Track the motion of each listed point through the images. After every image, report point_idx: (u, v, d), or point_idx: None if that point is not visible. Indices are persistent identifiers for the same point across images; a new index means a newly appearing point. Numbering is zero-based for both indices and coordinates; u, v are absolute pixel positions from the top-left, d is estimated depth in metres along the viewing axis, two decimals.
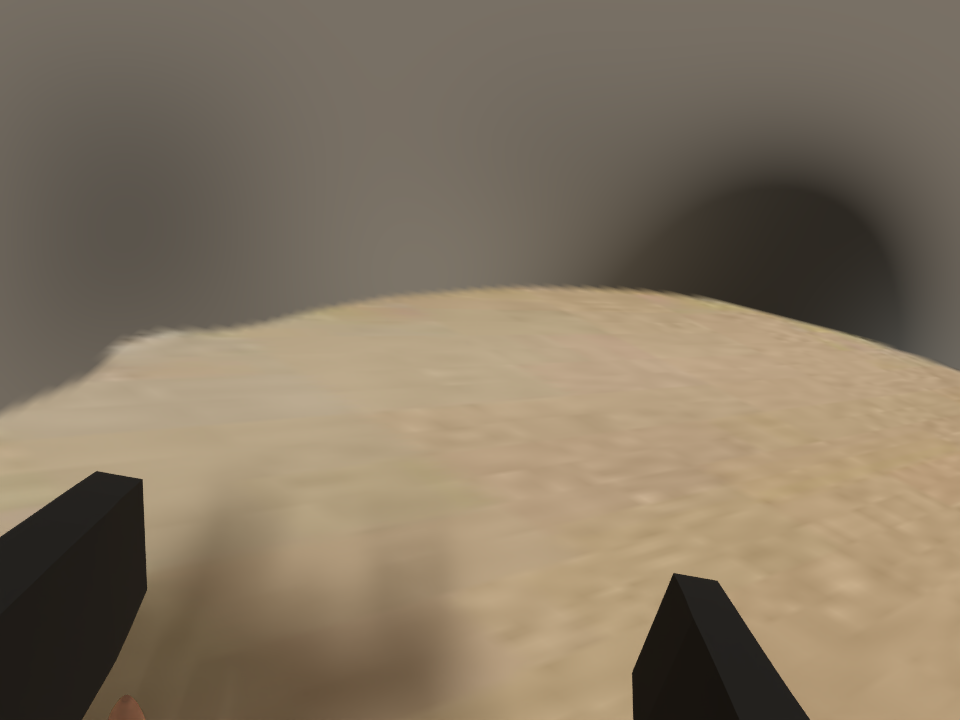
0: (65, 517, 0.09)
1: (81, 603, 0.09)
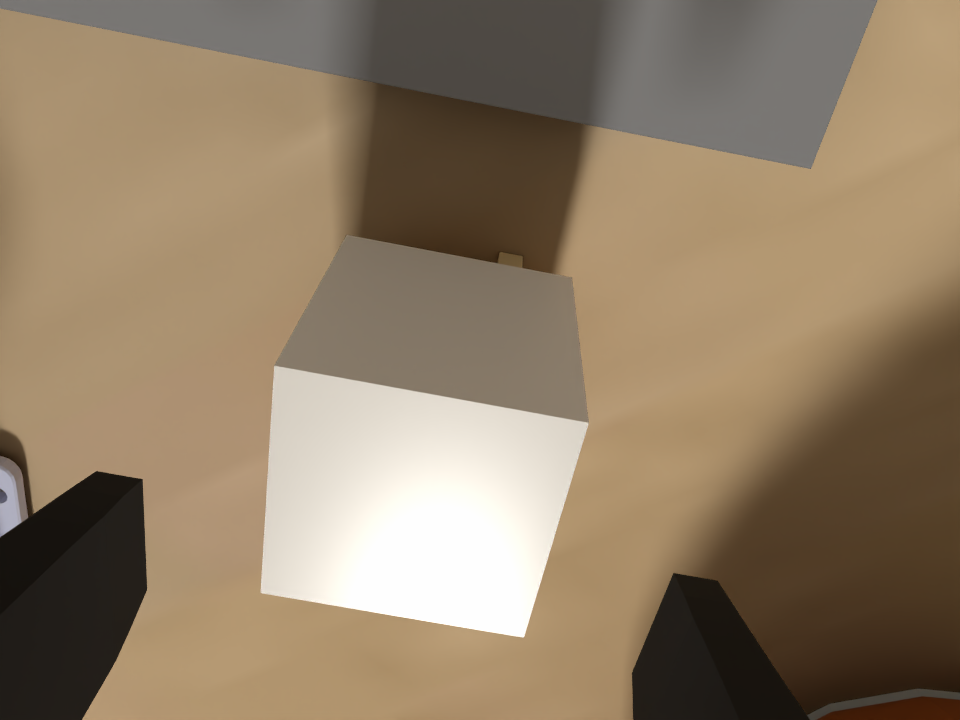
0: (65, 517, 0.09)
1: (81, 603, 0.09)
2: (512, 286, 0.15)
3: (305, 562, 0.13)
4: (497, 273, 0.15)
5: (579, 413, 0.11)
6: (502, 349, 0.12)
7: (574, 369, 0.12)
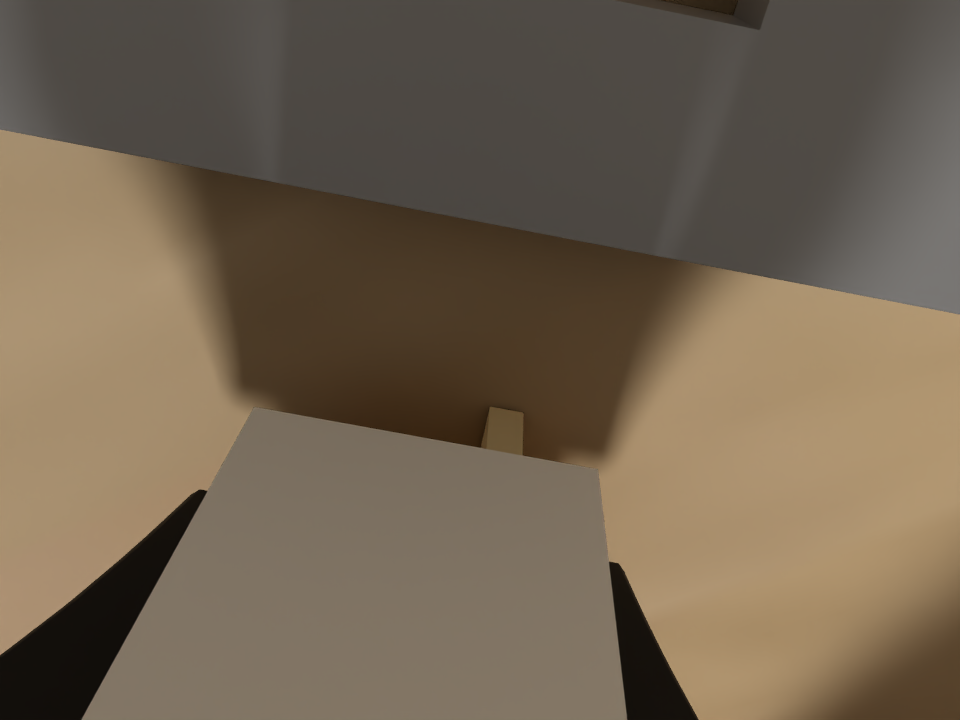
0: None
1: None
2: (506, 500, 0.09)
3: None
4: (483, 472, 0.10)
5: None
6: (486, 674, 0.07)
7: (612, 715, 0.07)
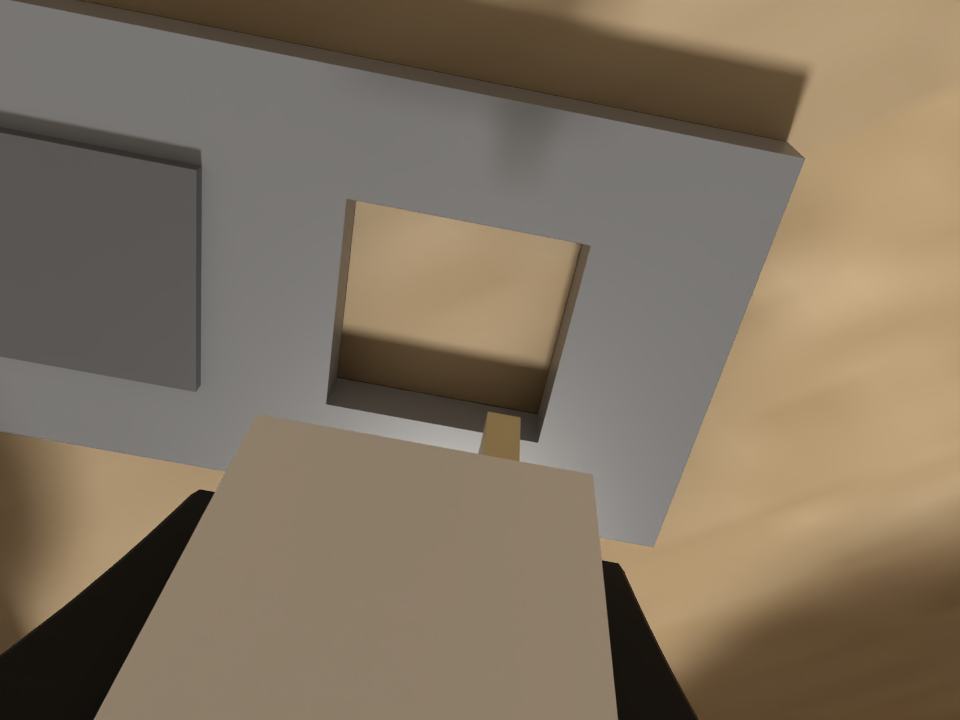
0: (182, 537, 0.09)
1: None
2: (503, 506, 0.10)
3: None
4: (481, 478, 0.10)
5: None
6: (482, 678, 0.07)
7: (604, 717, 0.07)
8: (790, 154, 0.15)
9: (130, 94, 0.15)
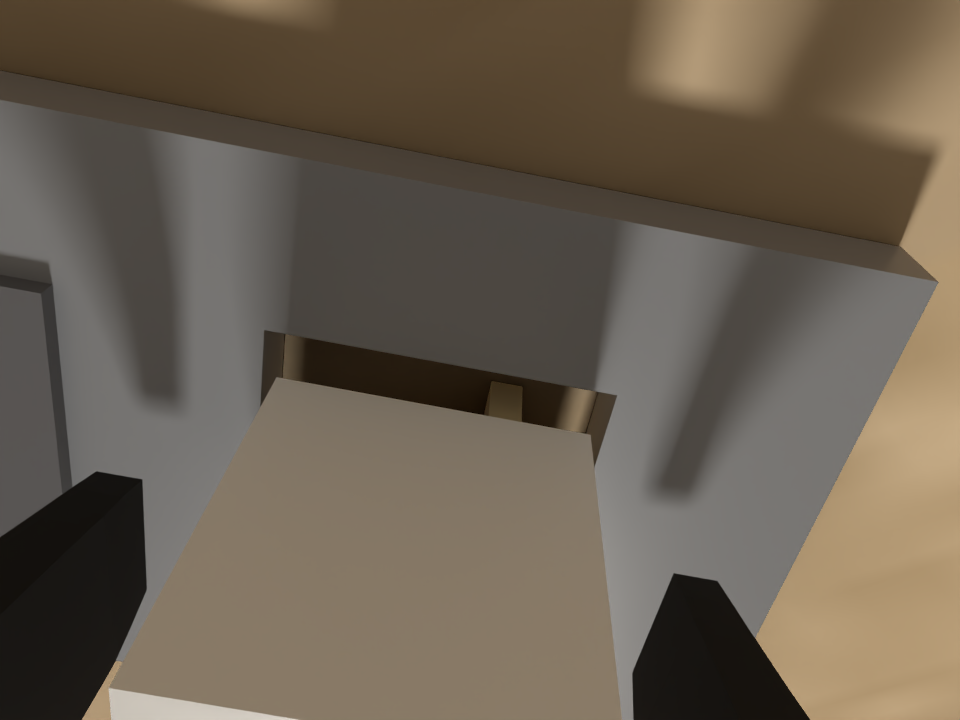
0: (65, 517, 0.09)
1: (81, 603, 0.09)
2: (507, 460, 0.10)
3: None
4: (486, 435, 0.11)
5: None
6: (489, 603, 0.08)
7: (600, 638, 0.08)
8: (916, 275, 0.10)
9: None
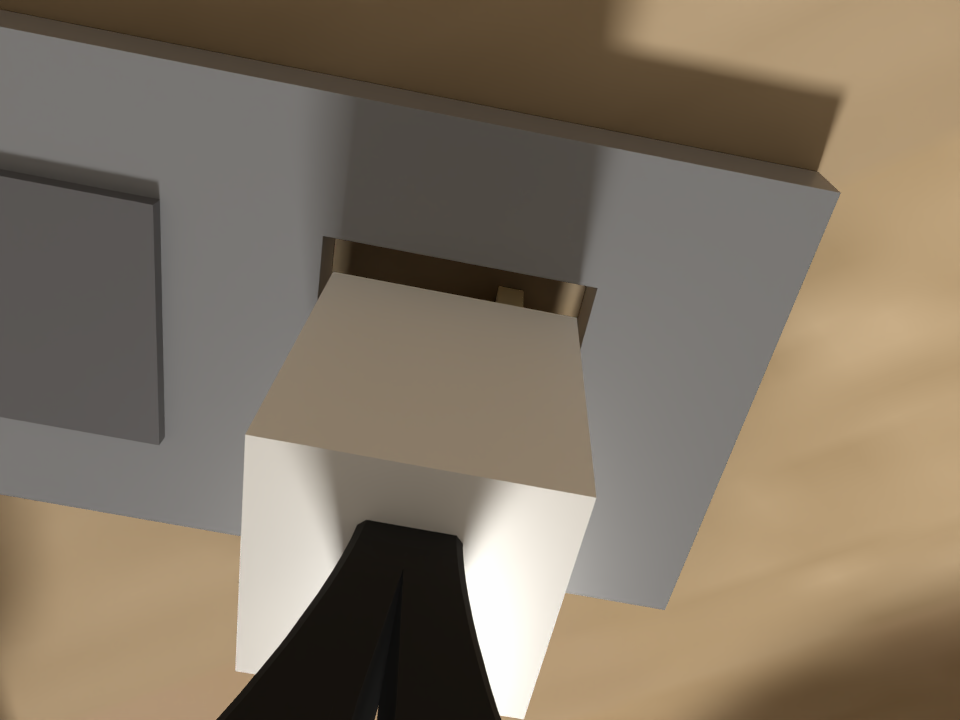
0: (370, 570, 0.09)
1: (382, 654, 0.09)
2: (512, 330, 0.13)
3: None
4: (496, 314, 0.14)
5: (585, 486, 0.10)
6: (500, 408, 0.11)
7: (580, 430, 0.11)
8: (823, 187, 0.13)
9: (78, 119, 0.13)
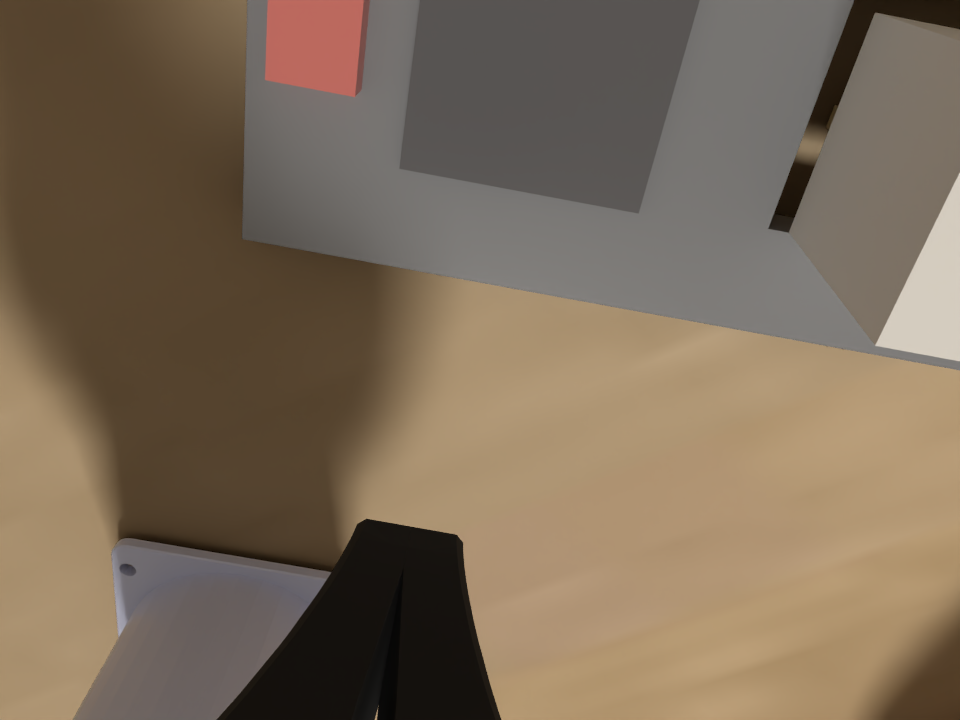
0: (370, 570, 0.09)
1: (382, 654, 0.09)
2: None
3: (941, 306, 0.12)
4: None
5: None
6: None
7: None
8: None
9: None
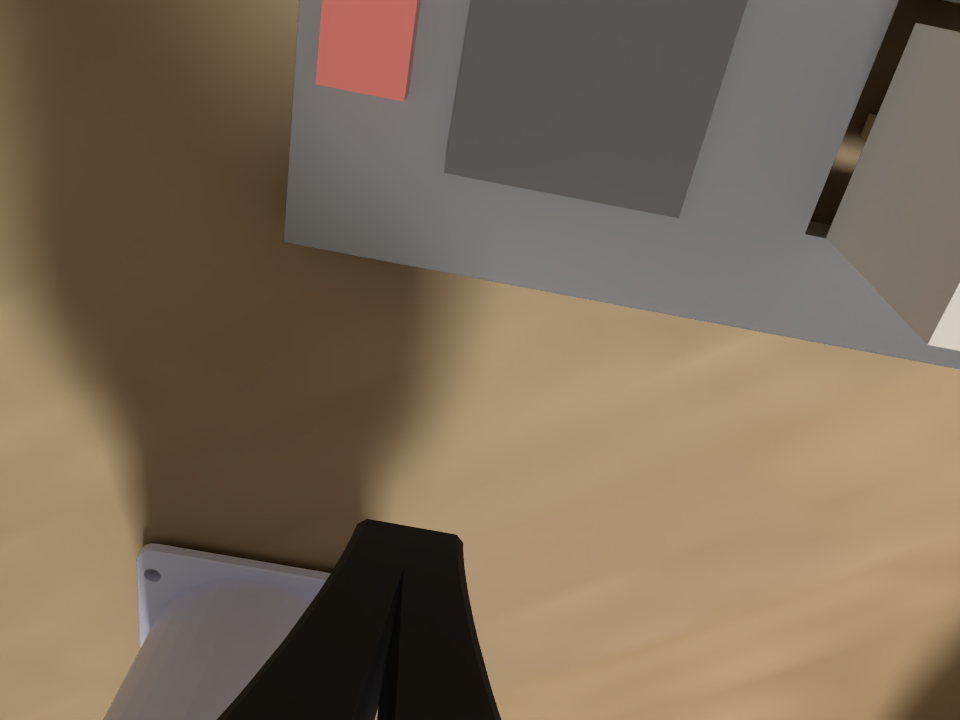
0: (370, 570, 0.09)
1: (382, 654, 0.09)
2: None
3: None
4: None
5: None
6: None
7: None
8: None
9: None
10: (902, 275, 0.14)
